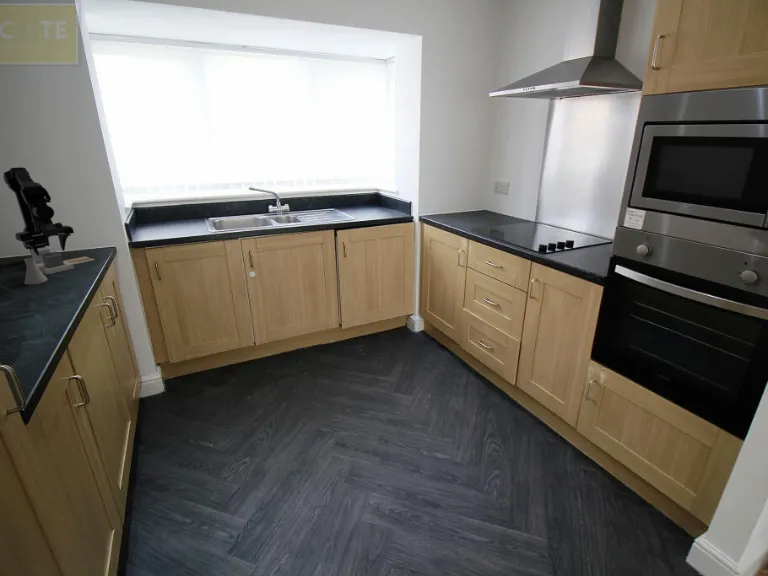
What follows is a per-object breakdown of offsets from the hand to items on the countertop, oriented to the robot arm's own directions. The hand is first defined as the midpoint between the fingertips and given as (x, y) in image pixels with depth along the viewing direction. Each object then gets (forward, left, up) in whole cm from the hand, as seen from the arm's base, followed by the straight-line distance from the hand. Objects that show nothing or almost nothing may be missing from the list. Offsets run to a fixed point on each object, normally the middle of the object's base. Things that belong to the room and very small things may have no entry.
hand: (51, 253), depth 179 cm
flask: (+12, -11, -8) cm, 18 cm away
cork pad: (-7, +12, -8) cm, 16 cm away
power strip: (-8, 0, -8) cm, 11 cm away
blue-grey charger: (-12, 0, -7) cm, 14 cm away
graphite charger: (0, 0, -7) cm, 7 cm away
